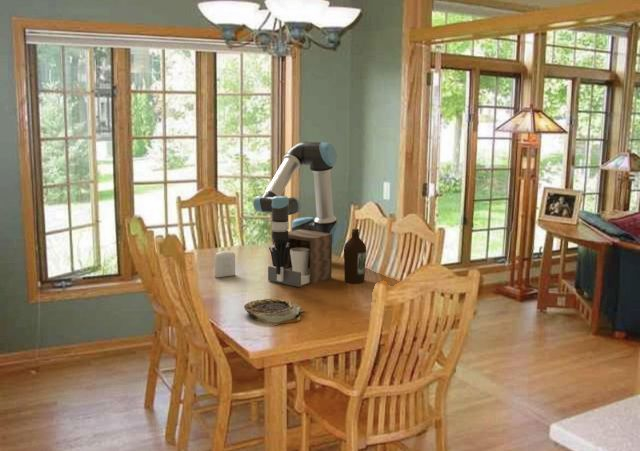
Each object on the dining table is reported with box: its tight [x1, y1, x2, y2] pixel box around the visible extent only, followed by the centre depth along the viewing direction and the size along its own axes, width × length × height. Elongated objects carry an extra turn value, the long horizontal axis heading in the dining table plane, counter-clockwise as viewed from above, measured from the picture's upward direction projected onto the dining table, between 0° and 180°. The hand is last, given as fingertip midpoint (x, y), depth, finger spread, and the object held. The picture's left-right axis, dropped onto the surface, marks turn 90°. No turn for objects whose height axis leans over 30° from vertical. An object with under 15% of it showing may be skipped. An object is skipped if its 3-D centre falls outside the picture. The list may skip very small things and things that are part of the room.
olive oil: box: [343, 228, 367, 284], centre depth 309 cm, size 11×11×25 cm
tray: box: [267, 266, 310, 288], centre depth 311 cm, size 20×19×7 cm
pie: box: [243, 297, 305, 327], centre depth 259 cm, size 28×27×5 cm
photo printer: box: [214, 250, 236, 278], centre depth 317 cm, size 10×4×12 cm, turn 123°
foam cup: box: [290, 248, 310, 276], centre depth 312 cm, size 10×9×13 cm
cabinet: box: [284, 229, 333, 285], centre depth 315 cm, size 15×19×22 cm
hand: (280, 280), depth 302 cm, fingers closed
